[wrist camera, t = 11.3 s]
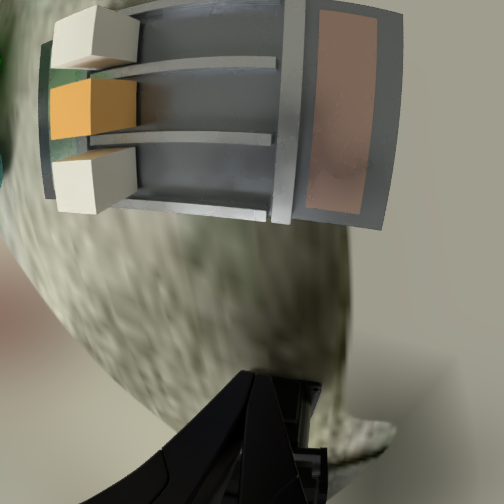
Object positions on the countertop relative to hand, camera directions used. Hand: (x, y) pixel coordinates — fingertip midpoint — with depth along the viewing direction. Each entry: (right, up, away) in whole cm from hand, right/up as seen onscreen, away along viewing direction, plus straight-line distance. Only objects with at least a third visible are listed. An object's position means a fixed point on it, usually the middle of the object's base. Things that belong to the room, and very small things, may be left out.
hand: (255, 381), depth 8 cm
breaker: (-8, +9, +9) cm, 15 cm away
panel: (-4, +12, +8) cm, 15 cm away
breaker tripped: (-8, +12, +7) cm, 16 cm away
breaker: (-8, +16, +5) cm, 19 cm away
